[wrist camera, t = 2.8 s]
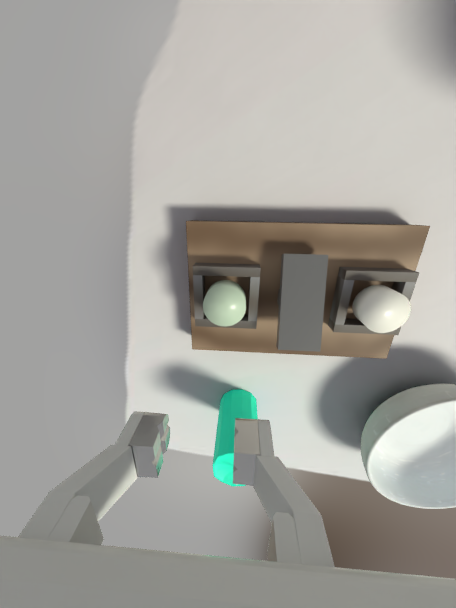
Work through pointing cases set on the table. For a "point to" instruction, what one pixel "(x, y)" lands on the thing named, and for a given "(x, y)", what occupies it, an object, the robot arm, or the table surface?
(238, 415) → the candle
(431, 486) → the serving bowl
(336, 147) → the table surface
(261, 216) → the table surface
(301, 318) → the flat grey strip
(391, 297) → the button offwhite
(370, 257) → the switch panel
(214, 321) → the button sage
